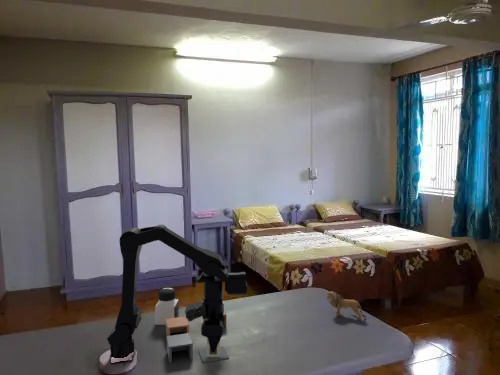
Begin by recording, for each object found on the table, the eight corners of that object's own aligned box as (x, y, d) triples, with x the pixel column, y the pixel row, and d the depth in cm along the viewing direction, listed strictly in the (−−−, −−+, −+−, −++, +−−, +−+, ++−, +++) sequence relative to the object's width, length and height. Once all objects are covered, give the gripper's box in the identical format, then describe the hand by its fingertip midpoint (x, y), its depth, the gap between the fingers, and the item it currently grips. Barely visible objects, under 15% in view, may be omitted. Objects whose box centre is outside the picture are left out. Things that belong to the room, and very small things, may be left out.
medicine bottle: (174, 325, 142) (174, 293, 141) (155, 325, 143) (154, 293, 142) (178, 317, 150) (178, 286, 148) (160, 316, 150) (159, 286, 149)
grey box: (169, 362, 117) (169, 346, 117) (166, 351, 124) (166, 336, 124) (192, 359, 120) (192, 343, 119) (189, 348, 126) (188, 333, 126)
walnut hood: (207, 330, 138) (206, 316, 138) (203, 322, 145) (203, 309, 145) (226, 327, 141) (226, 314, 140) (221, 319, 147) (221, 306, 147)
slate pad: (202, 362, 117) (202, 361, 117) (198, 351, 124) (198, 350, 124) (228, 358, 120) (228, 357, 120) (223, 347, 126) (223, 346, 126)
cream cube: (206, 357, 120) (206, 344, 119) (207, 350, 124) (207, 338, 124) (219, 357, 120) (219, 344, 120) (220, 350, 124) (220, 337, 124)
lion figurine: (325, 316, 150) (326, 293, 150) (327, 311, 155) (327, 288, 155) (365, 321, 146) (366, 297, 146) (365, 315, 152) (366, 292, 151)
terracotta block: (168, 342, 130) (167, 327, 130) (165, 332, 137) (165, 318, 136) (189, 339, 132) (189, 324, 132) (186, 330, 139) (185, 316, 138)
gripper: (189, 285, 129) (190, 331, 130) (183, 307, 110) (183, 361, 112) (223, 284, 130) (223, 330, 131) (222, 307, 111) (223, 359, 113)
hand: (213, 344), depth 122 cm, fingers open, 9 cm apart
